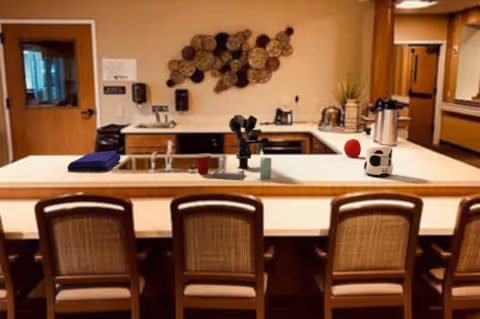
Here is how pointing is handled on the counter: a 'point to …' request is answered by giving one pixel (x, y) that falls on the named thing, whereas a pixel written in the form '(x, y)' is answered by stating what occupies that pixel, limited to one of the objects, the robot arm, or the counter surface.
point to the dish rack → (228, 174)
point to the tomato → (352, 148)
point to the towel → (95, 161)
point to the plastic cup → (202, 162)
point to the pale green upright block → (265, 168)
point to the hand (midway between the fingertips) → (256, 152)
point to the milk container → (378, 160)
